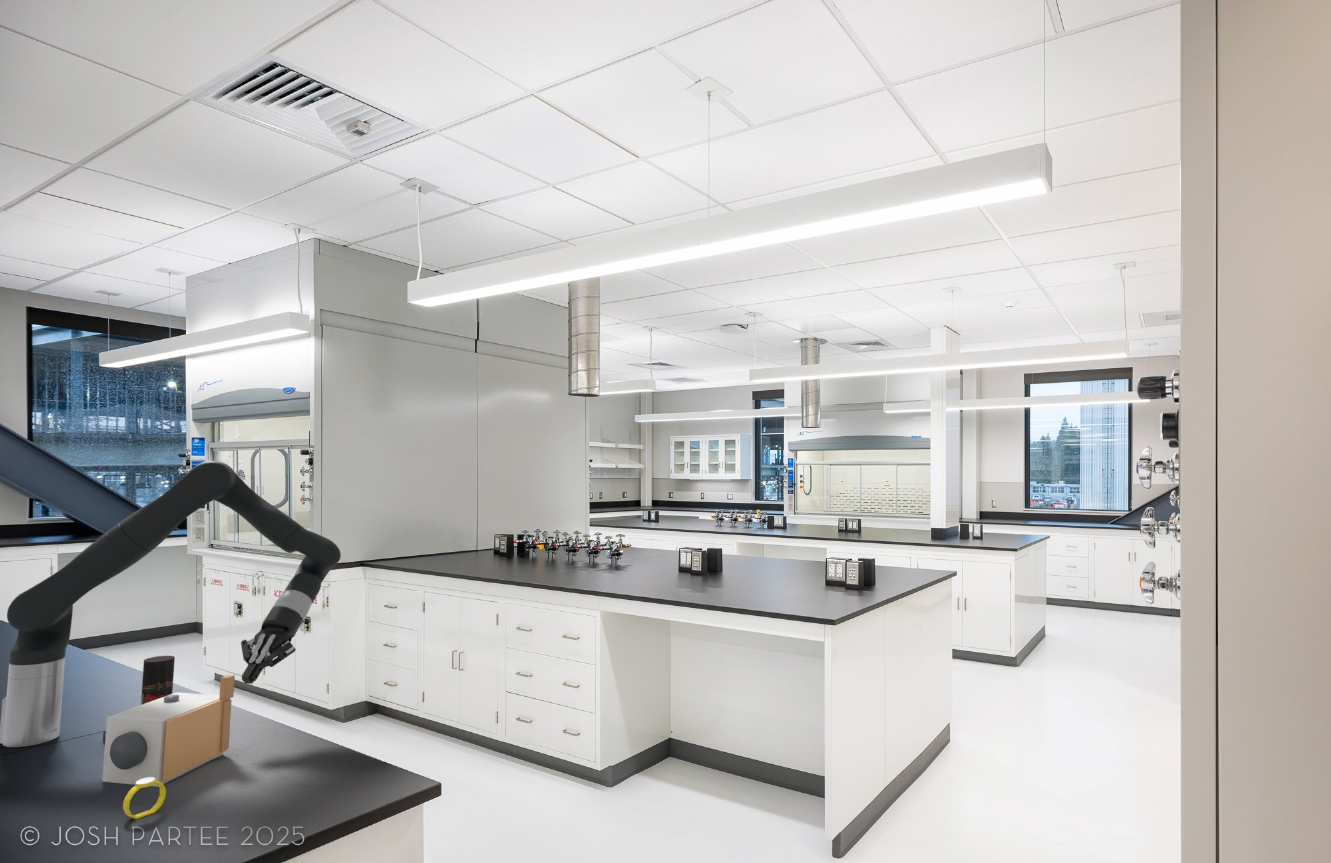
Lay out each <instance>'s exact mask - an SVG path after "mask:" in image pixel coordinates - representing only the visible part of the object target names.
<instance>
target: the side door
mask: <svg viewBox="0 0 1331 863" xmlns="http://www.w3.org/2000/svg"><path fill="white" fill-rule="evenodd" d="M235 679H236V678H235V674H227V675H223V676H221V677H220V680H219V681H220V682H219V695H220V696H219V700H217V701H214V702H212V703H209V704H207V705H204V706H202V707H199V708H197V709H194V710H192V711H189V712H187V713H184V714H182V715H179V716H177V717H174V718H172V719H169V720H166V733H165V749H164V764H163V779H162V780H165V781H166V780H168V779H170V778H173V777H175V776H177V775H179V774H181V773H183V772H185V771H187V770H189V769H191V768H193V767H195V766H197V765H199V764H201V763H203V762H205V761H207V760H209V759H211V758H213V757H215V756H217V755H219V754H221V753H223V754H224V753H225V752H227V751H228V749H229V747H230V733H231V731H230V730H231V716H232V698H234V695H235V693H234V691H235Z"/></svg>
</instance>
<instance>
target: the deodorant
mask: <svg viewBox="0 0 1331 863" xmlns="http://www.w3.org/2000/svg"><path fill="white" fill-rule="evenodd" d="M175 658H176V657H175V656H174V655H157V656H152V657H147V658H145V659H144V660H143V666H142V680H141V681H142V683H141V684H142V685H141V699H140V705H142V704H145V703H148V702H151V701H154V700H156V699H159V698H162V697H165V696H168V695H171V694H173V693H174V692H173V690H174V675H175V673H174V672H175Z"/></svg>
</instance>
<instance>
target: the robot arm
mask: <svg viewBox="0 0 1331 863" xmlns="http://www.w3.org/2000/svg"><path fill="white" fill-rule="evenodd" d="M212 501H216V502H217V503H219V504H221V505H224V506H225V507H227V508H229V509H231V510H232V511H234V512H235V513H236V514H238V515H239V516H241V517H242V518H243V519H244V520H246V521H247V522H248V523H249V524H250V525H251V526H252V527H253V528H254V529H255V530H256V531H257V532H258V533H260V534H261V535H262V536H264V538H265V539H267V540H268V541H270V542H271V543H273V544H274V545H276V546H277V547H278V548H280V549H281V550H283V551H284V552H286V553H288V554H292V553H295V552H298V553H300V554H302V555H304V557H303V559H301V562H300V563H299V565H298V567H297V570H296V571H295V573H294V575H293V577H292V578H291V580H290V581H289V582H288V584H287V586H286V587H285V589H284V591H283V592H282V594H280V595H279V597H278V599H276V600H275V602H274V604H273V605H272V607H271V609H270V611H269V612H268V614H266V617H265V618H264V620H263V622H262V624H261V628H260V631H258V632H257V633H256V634H255V635H254V637H253V638H252V639H249V640H247V639H243V640H241V642H240V646H241V652H242V659H243V661H244V662H245V663H246V664H247V666H246V668H245V670H244V671H243V673H242V675H241V681H243V683H244V684H247V685H249V684H250V685H251V684H253V683H254V682H256V681H257V680H258V678H259V677H260V674H261V673H262V671H263V670H265V669H266V668H267V667H270V668H274V667H275V666H276V665H278V664H279V663H280V662H282V661H283V660H285V659H286V658H288V657H289V656H291V655H292V654H293V653H295V652H296V648H295V646H294V644H292V643H291V642H292V639H293V638H294V637H295V636H296V634H297V632H298V631H299V629H300V627H301V625H302V624H303V622H304V621H305V618H306V617H307V615H308V614H309V611H310V610H311V607H312V605H313V603H314V601H315V599H316V598H317V596H318V595H319V592H320V590H321V587H322V584H323V581H324V580H325V579H326V577H327V575H328V574H329V572H330V571H331V570H333V568H334V567H335V566H336V565H337V564H338V563H339V562H340V560H341V556H342V554H341V550H340V548H339V547H338V545H337V544H336V543H335V542H334V541H332V540H331V539H329V538H327V537H325V536H322V535H321V534H319V533H316V532H314V531H311V530H308V529H306V528H305V527H303V526H302V525H301V524H300V523H298V522H297V521H295V520H294V519H293V518H291V517H290V516H289V515H287V514H286V513H284V512H283V511H282V510H280V509H279V508H278V507H276V506H274V505H273V504H271V503H270V502H268V501H266V500H265V499H264V498H263V497H261V495H259V494H258V493H256V492H255V491H254V490H253V489H252V488H250V486H248V484H247V483H245V481H244V480H242V478H240V476H239V475H238V474H237V473H236V472H235V471H234V469H233V468H232V467H231V466H230V465H228V464H227V463H224V462H221V461H216V460H206V461H203V462H202V461H201V462H200V463H198V464H196V465H195V466H193V467H192V468H191V469H190V470H189V471H188V472H187V473H186V474H185V475H183V476H182V477H181V478H180V479H179V480H178V481H177V482H176V483H175V484H174V485H172V486H171V487H170V488H168V490H167V491H165V492H164V493H163V494H162V495H160V496H159V497H157V498H156V499H154V500H152V501H151V502H149V503H147V504H146V505H143V506H142V507H140V508H139V509H137V511H136V510H135V512H133V513H131V515H128V516H127V517H126V518H124V519H123V520H121V521H119V522H118V523H117V524H116V525H114V526H113V527H111V528H110V529H109V530H107V531H106V532H105V533H103V534H102V535H101V536H100V537H99V538H97V539H96V540H95V541H94V542H92V543H91V544H90V545H88V546H87V547H85V549H83V550H82V551H81V552H80V553H79V554H77V556H75V557H74V558H73V559H72V560H70V562H69V563H67V564H66V565H65V566H63V567H62V568H61V569H59V570H58V571H56V572H54V573H53V574H51V575H49V577H47V578H45V579H44V580H42V581H40V582H39V583H37V584H35V585H34V586H32V587H30V588H28V589H26V590H25V591H23V592H22V593H19V594H18V595H17V596H15V598H14V599H13V600H12V601H11V602H10V604H9V606H8V608H7V612H6V619H7V622H8V623H9V625H10V626H11V627H12V628H13V629H16V630H17V631H18V632H17V637H16V640H15V643H14V645H13V646H12V648H11V650H10V652H9V660H8V663H9V664H8V672H7V673H8V674H7V686H6V696H5V697H3V699H2V702H1V711H0V712H1V714H0V744H2V746H3V747H6V748H22V747H29V746H31V747H32V746H36V745H41V744H44V743H47V742H50V741H52V740H54V739H56V738H58V737H60V729H61V716H62V703H63V702H62V700H63V689H64V678H65V677H64V676H65V675H64V674H65V662H66V661H65V660H66V652H67V651H66V650H67V647H68V645H69V641H70V638H71V630H72V622H73V621H72V620H73V610H74V609H73V608H74V604H75V603H77V602H78V601H79V600H80V599H81V598H83V597H84V596H85V595H86V594H87V593H89V592H90V591H92V590H93V589H95V588H96V587H98V586H100V585H101V584H103V583H105V582H108V580H110V579H112V578H114V577H116V576H117V575H119V574H121V573H122V572H124V571H126V570H127V569H128V568H130V567H132V566H133V565H135V564H136V563H138V562H139V561H140V560H142V558H145V556H147V555H148V554H150V553H151V552H152V551H153V550H155V549H156V548H158V546H159V545H160V544H161V543H163V542H164V540H166V539H167V538H168V537H169V536H170V535H171V534H172V533H173V532H174V530H176V529H177V527H178V526H179V525H180V524H181V523H182V522H183V521H184V520H186V519H187V518H188V517H189V516H191V515H192V514H193V513H195V512H197V511H198V510H199V509H201V508H203V507H204V506H206V505H207V504H209V503H210V502H212Z"/></svg>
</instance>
